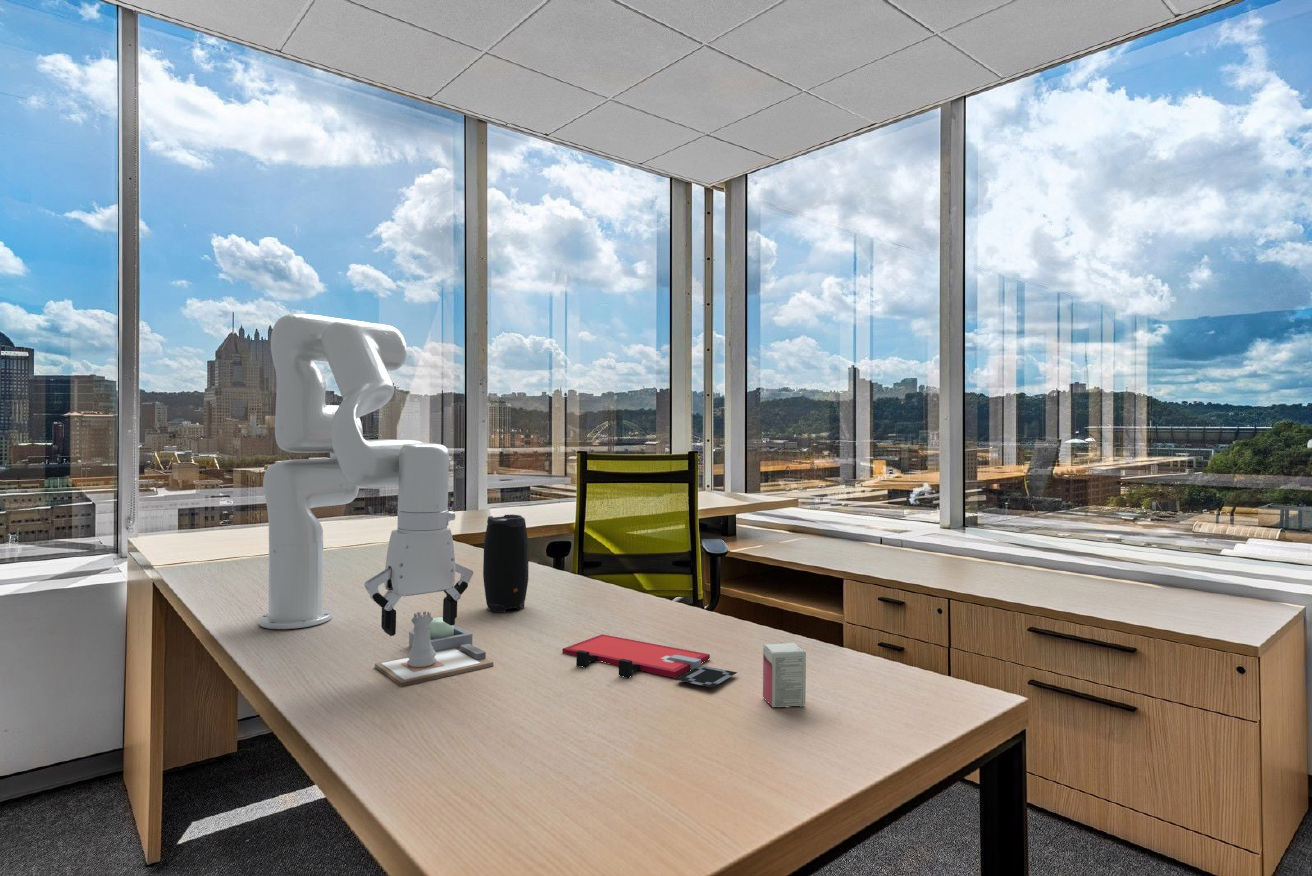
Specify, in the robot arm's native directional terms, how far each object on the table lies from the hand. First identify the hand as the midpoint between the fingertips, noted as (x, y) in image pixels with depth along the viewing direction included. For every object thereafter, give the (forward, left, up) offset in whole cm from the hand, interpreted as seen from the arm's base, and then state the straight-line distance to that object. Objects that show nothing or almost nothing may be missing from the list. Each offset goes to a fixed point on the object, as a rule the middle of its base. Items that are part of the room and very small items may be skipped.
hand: (420, 628), depth 114 cm
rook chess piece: (+1, 0, -6) cm, 6 cm away
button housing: (-8, +7, -6) cm, 13 cm away
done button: (-8, +7, -5) cm, 12 cm away
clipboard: (+1, +2, -6) cm, 7 cm away
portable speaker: (-25, +29, -7) cm, 39 cm away
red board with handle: (+21, +30, -7) cm, 37 cm away
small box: (+46, +34, -7) cm, 57 cm away
